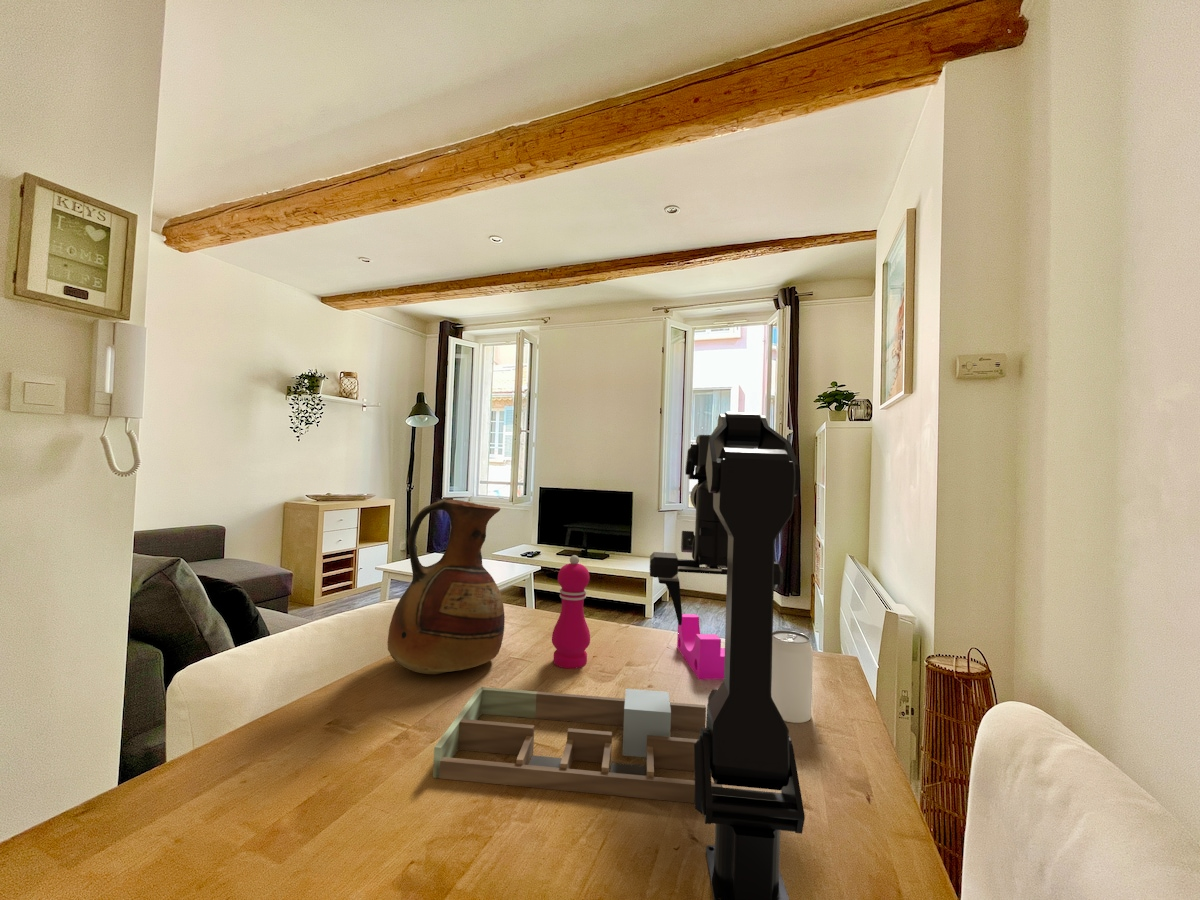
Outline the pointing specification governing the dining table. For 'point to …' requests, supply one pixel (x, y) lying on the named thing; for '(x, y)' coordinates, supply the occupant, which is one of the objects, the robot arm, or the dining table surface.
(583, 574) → the pepper mill
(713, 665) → the toy block
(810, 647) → the can
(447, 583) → the ceramic pitcher
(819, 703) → the dining table surface
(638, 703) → the cube
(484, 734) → the wooden compartment tray
